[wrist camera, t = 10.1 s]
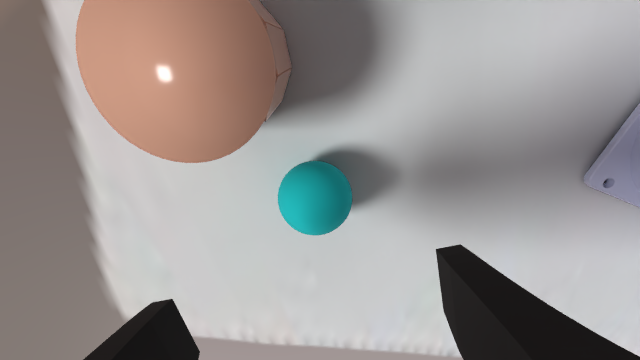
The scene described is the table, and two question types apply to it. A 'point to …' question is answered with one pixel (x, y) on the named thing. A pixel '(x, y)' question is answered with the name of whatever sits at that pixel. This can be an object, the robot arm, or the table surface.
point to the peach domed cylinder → (183, 72)
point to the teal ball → (315, 198)
